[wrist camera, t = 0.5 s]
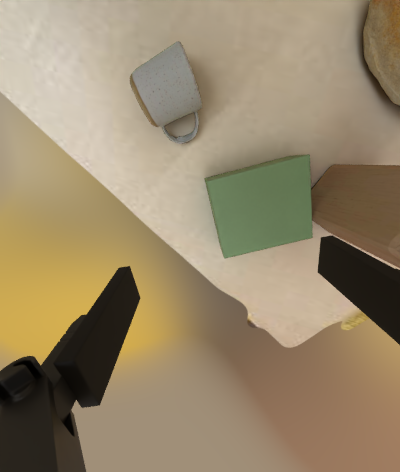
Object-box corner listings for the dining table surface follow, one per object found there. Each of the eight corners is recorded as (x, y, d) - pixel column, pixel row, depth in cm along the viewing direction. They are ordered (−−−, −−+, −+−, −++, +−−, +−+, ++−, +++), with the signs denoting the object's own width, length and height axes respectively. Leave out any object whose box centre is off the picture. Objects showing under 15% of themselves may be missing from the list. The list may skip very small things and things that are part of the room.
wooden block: (328, 232, 40) (448, 293, 21) (294, 207, 38) (392, 252, 19) (366, 191, 37) (542, 221, 18) (330, 162, 35) (489, 161, 16)
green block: (204, 178, 35) (206, 181, 30) (290, 155, 34) (309, 154, 29) (220, 245, 40) (224, 258, 35) (295, 227, 39) (312, 237, 34)
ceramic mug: (134, 85, 30) (117, 62, 23) (181, 58, 29) (178, 24, 22) (167, 152, 33) (161, 151, 26) (210, 130, 32) (215, 122, 25)
